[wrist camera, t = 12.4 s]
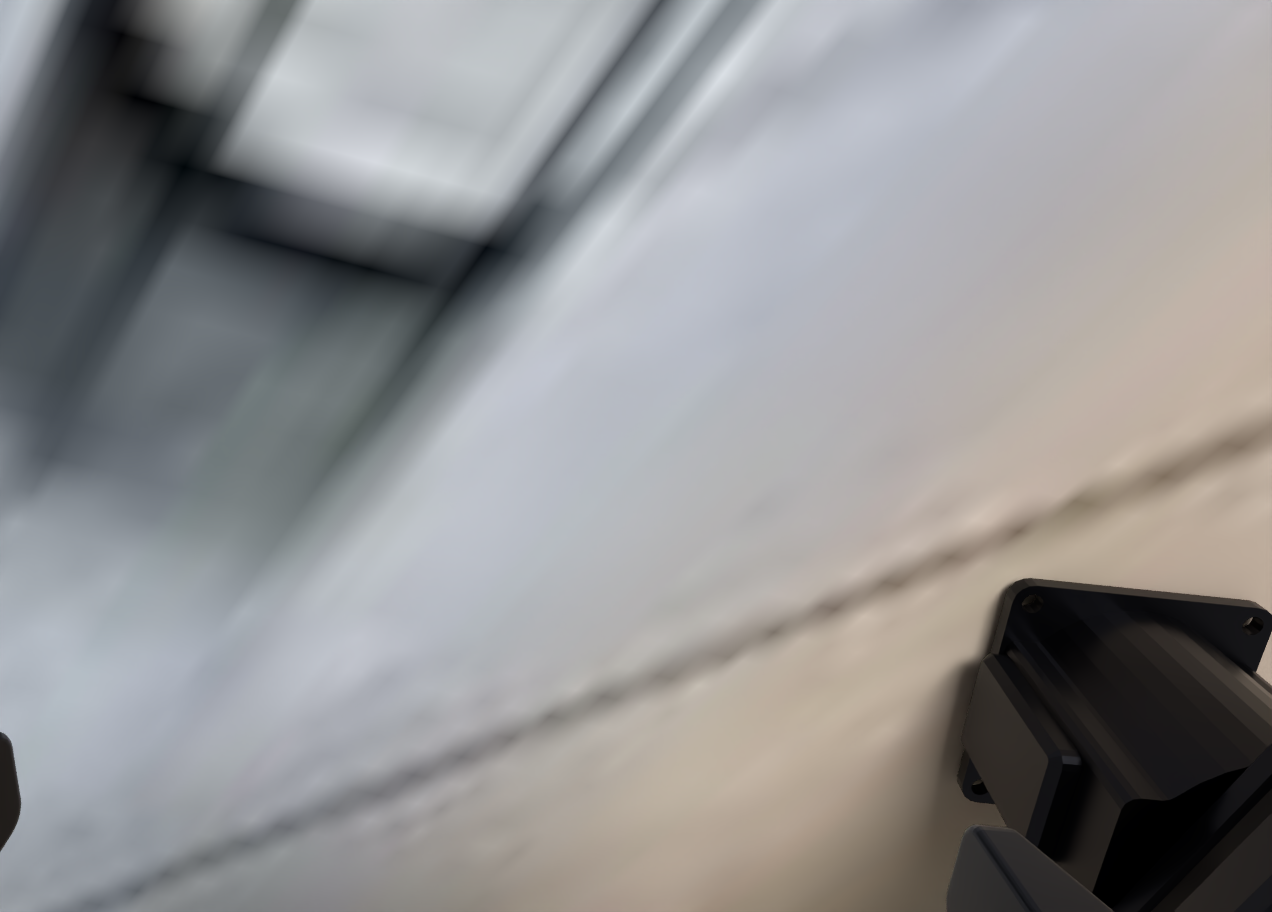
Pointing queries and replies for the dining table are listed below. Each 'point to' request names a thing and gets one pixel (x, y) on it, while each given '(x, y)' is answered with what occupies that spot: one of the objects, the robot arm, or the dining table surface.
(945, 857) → the dining table surface
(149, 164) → the dining table surface
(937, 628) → the dining table surface
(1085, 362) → the dining table surface
